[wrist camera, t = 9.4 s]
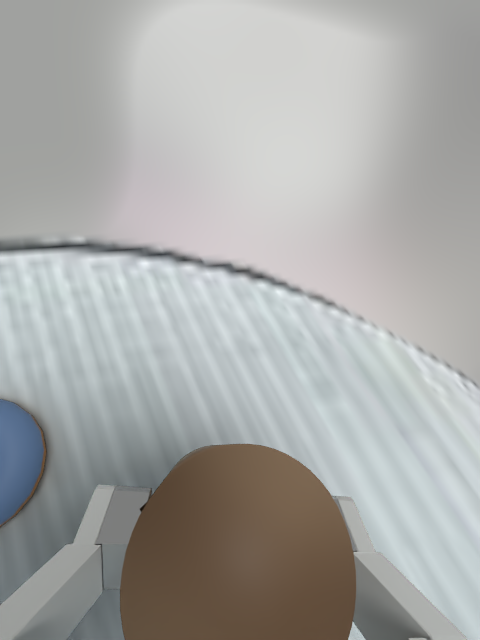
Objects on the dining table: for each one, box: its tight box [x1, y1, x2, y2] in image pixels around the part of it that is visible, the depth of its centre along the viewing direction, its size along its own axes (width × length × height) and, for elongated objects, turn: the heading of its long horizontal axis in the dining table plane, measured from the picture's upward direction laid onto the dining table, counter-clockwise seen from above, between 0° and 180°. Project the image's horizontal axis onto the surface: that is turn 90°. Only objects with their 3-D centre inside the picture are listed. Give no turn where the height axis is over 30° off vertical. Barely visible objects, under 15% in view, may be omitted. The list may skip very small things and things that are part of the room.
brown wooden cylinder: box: [120, 444, 356, 640], centre depth 10 cm, size 4×4×8 cm
